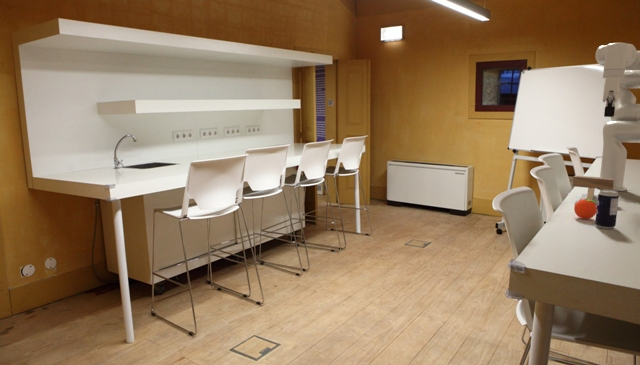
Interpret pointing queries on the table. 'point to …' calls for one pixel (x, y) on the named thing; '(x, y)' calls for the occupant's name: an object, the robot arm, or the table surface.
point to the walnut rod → (593, 182)
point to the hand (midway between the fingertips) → (609, 116)
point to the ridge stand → (590, 195)
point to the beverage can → (607, 209)
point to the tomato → (585, 208)
